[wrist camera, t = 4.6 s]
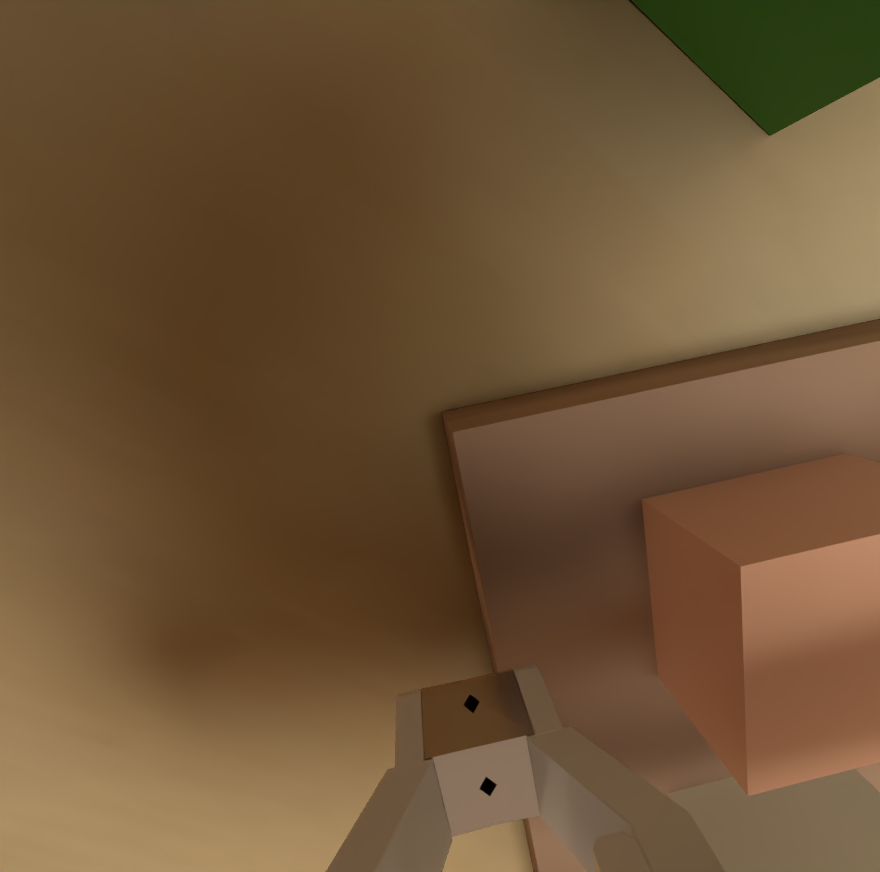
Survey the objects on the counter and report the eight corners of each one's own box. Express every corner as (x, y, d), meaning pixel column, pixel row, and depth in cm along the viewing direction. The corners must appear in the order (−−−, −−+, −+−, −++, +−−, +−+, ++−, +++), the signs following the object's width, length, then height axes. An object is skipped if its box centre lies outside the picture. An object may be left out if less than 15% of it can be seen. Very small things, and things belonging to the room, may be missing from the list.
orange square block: (641, 499, 10) (740, 566, 7) (845, 453, 10) (1022, 500, 7) (657, 676, 11) (748, 795, 8) (839, 632, 11) (989, 734, 9)
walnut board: (441, 412, 12) (452, 432, 9) (893, 316, 12) (1015, 311, 10) (536, 883, 16) (560, 980, 14) (866, 797, 17) (947, 877, 14)
